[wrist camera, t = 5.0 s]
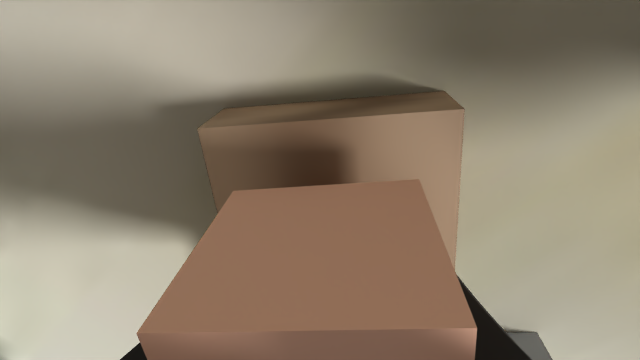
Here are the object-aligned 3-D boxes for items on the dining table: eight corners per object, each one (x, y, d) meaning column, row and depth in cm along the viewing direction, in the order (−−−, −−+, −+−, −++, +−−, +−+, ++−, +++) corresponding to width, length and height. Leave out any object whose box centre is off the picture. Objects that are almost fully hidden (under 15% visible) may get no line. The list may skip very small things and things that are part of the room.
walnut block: (442, 89, 13) (464, 109, 11) (435, 269, 17) (451, 320, 14) (227, 106, 14) (197, 128, 12) (261, 274, 17) (243, 322, 15)
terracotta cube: (419, 178, 10) (477, 327, 5) (419, 324, 12) (460, 524, 7) (233, 190, 10) (136, 333, 6) (263, 327, 12) (210, 513, 8)
